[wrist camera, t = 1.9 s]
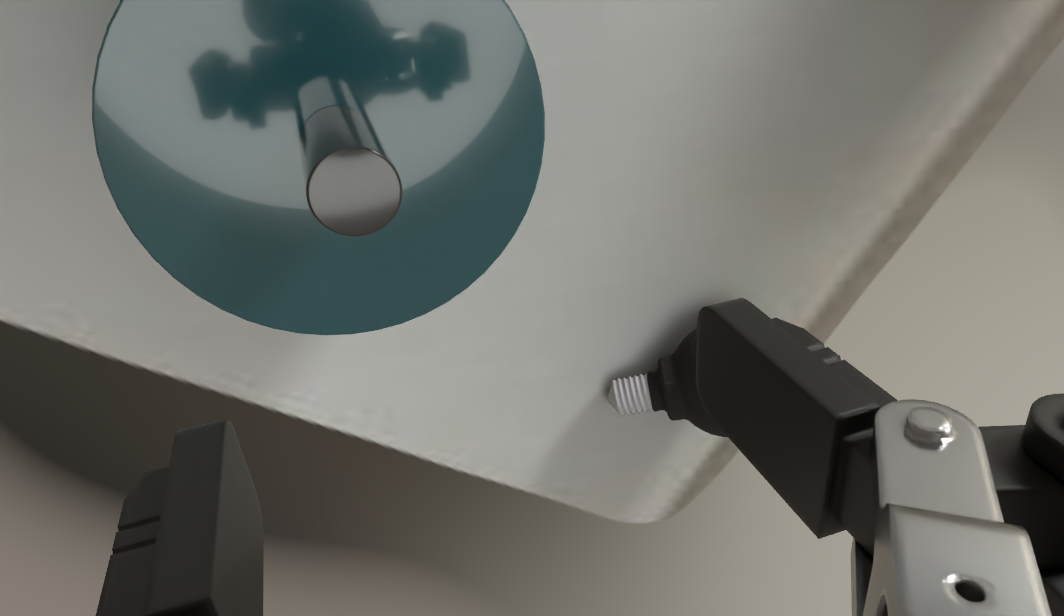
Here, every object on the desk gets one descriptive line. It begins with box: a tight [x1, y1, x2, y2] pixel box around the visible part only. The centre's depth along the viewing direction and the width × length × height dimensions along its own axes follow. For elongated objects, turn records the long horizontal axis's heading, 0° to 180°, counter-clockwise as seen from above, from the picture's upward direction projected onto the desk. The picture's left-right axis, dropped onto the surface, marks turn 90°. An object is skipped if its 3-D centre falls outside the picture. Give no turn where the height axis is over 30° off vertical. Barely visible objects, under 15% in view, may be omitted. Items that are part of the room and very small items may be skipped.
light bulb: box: [607, 329, 728, 437], centre depth 41 cm, size 6×6×10 cm
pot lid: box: [92, 0, 545, 335], centre depth 21 cm, size 13×13×6 cm
